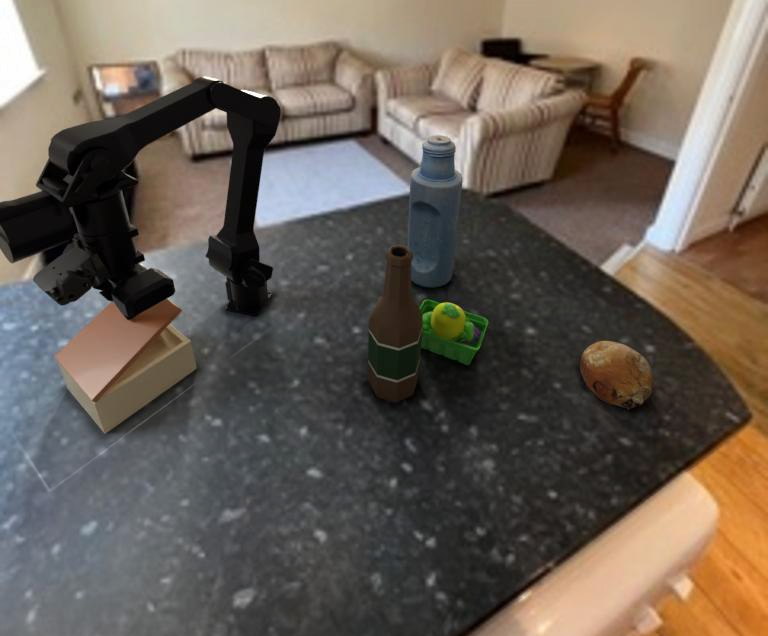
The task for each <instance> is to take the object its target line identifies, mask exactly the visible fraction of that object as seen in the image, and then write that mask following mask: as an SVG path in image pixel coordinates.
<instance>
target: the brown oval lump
mask: <svg viewBox="0 0 768 636" xmlns="http://www.w3.org/2000/svg"><path fill="white" fill-rule="evenodd" d="M579 365H580V366H579V367H580V373H581V377H582V378H583V381H584V383H585V385H586V387H587V388H588V389H589V391H590V392H591V393H592V394H593V395H594V396H595V397H596V398H598V399H599V400H600V401H602V402H604V403H606V404H608V405H611V406H616V407H619V408H622V409H627V410H631V409H633V408H636V407H641V406H642V405H643V404H644V402H645V401H646V400H647V399H648V398H649V397H650V396H651V394H652V393H653V386H654V375H653V374H654V373H653V370H652V368H651V366H650V363H649V362H648V360H647V359H646V358H645V357H644V356H643V355H641V353H639V352H637V351H636V350H635V349H633V348H631V347H630V346H627V345H626V344H623V343H621V342H616V341H613V340H612V341H611V340H600V341H597V342H595V343H592V344H590V345H588V346H587V348H586V349H585V350H584V351H583V352H582V355H581V359H580V364H579Z"/></svg>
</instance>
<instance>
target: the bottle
mask: <svg viewBox="0 0 768 636" xmlns="http://www.w3.org/2000/svg"><path fill="white" fill-rule="evenodd" d="M421 149H422V157H421V161H420V166H418V167H417V168H415V169H413V170H412V172H411V174H410V183H409V186H410V187H409V200H408V225H407V245H406V247H408V248H409V249H410V250H411V251H412V253H413V257H414V258H413V260H412V262H411V283H413V284H415V285H417V286H419V287H421V288H422V287H423V288H429V289H433V288H439V287H443V286H445V285H447V284H449V282H450V281H451V280H452V278H453V273H454V272H453V271H454V262H455V261H454V260H455V251H456V245H457V236H458V235H457V234H458V225H459V216H460V209H461V199H462V189H463V182H464V180H463V179H464V178H463V175H462V173H461V172H460V171H458V170H457V169H456V164H455V154H456V150H457V147H456V144H455V142H454V141H452V139H451V138H450V137H448V136H446V135H441V134H435V135H431V136H428V137H427V139H425V140H424V141H423V142H422V144H421Z"/></svg>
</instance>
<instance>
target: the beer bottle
mask: <svg viewBox="0 0 768 636" xmlns="http://www.w3.org/2000/svg"><path fill="white" fill-rule="evenodd" d="M413 258H414V257H413V253H412V251H411V250H410V249H409V248H408V247H407V246H406V245H405V246H404V245H398V244H397V245H393V246H390V247H389V248H388V249H387V251H386V254H385V257H384V259H385V260H386V267H385V276H384V285H383V292H382V295H381V296H380V297H379V298H378V300H377V303H376V304H375V306H374V308H373V310H372V312H371V315H370V317H369V321H368V334H367V335H368V337H367V339H368V340H367V341H368V343H367V344H368V346H367V378H368V379H367V380H368V383H369V385H370V387H371V388H372V390H373V393H374V394H375V395H376V397H377V398H378V399H381V400H385V401H389V402H391V403H398V402H401V401H403V400H405V399H407V398H410V397H413V395H414V393H415V390H416V386H417V383H418V380H419V375H420V366H421V354H422V353H421V352H422V348H421V342H422V330H423V316H422V314H421V311H420V306H419V305H418V304H417V303H416V302H415V300H414V298H413V292H412V281H411V262H412V260H413Z"/></svg>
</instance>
